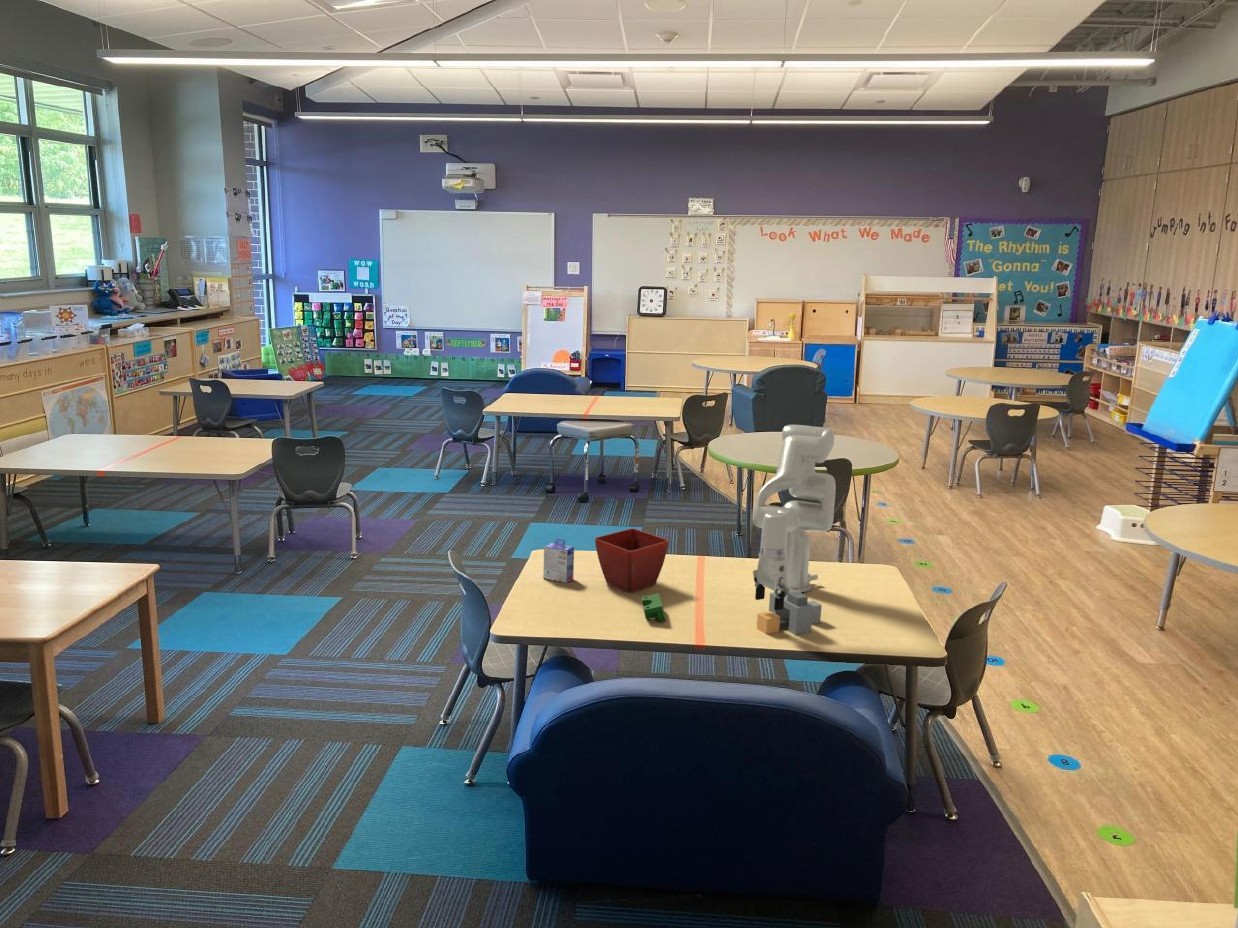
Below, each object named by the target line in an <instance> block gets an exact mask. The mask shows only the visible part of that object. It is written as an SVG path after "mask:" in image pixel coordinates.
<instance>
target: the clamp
mask: <svg viewBox="0 0 1238 928" xmlns="http://www.w3.org/2000/svg"><path fill="white" fill-rule="evenodd" d="M641 602H642V607H643V613H644V617H645V620H652V619H656V618H658V622H659V623H660V622H665V621H666V618H665V614H664V607H663V603H662V600H661V597H660V593H659V592H658V593H654V594H649V595H645V596H642V597H641Z"/></svg>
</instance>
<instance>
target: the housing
mask: <svg viewBox="0 0 1238 928" xmlns="http://www.w3.org/2000/svg"><path fill="white" fill-rule="evenodd" d="M778 592H779V594H780V593H781V592H780V590H779V591H778ZM775 598H776V594H775V592H770V593H769V604H768V611H771V612H773V613H775V614H776V615H778V616H780V620H783V619H788V618H789V627H788V632H789V633H790V634H793V635H795V636H798V635H802V634H803V633H804V634H808V633H811V632H812V624H811V621H812V609H813V605H811V604H810V603H808V602H809V601H808V599H809V597H808V596H807V594H806V595H805V594H803V593H800V592H798V591H796V592H788V594H787V595H786V597H785V598H784V607H783V609H781V610H774V603H775ZM807 632H808V633H807ZM804 634H803V635H804Z"/></svg>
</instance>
